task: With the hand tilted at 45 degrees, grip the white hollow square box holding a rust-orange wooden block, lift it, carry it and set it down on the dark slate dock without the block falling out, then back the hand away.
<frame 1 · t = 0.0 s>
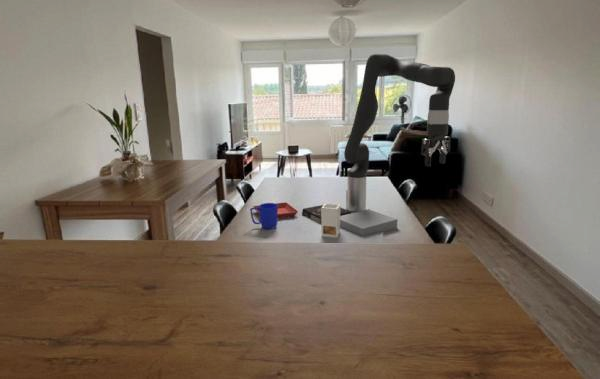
hand: (434, 164, 145), 29 cm above the table, tool pointing down, fingers open, 8 cm apart
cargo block: (331, 234, 154), point 1 cm above the table, touching white hollow square box
dock: (365, 226, 164), on the table
plant saucer: (275, 215, 185), on the table
mug: (264, 227, 166), on the table
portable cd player: (325, 218, 178), on the table
white hollow square box: (331, 236, 154), on the table, touching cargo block
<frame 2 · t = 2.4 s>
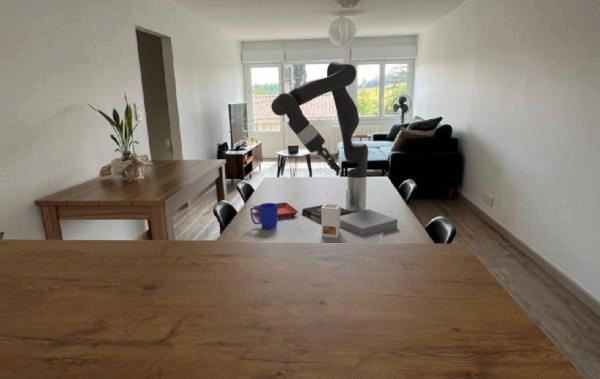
hand: (336, 169, 148), 28 cm above the table, tool tilted 40°, fingers open, 8 cm apart
nothing on the table moved.
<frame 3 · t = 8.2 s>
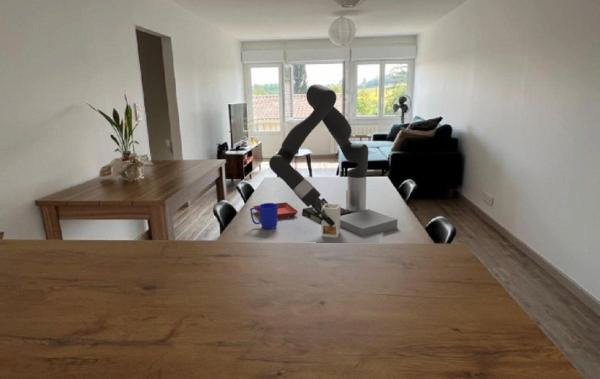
hand: (334, 222, 152), 6 cm above the table, tool tilted 45°, fingers closed on white hollow square box, 6 cm apart
white hollow square box: (331, 236, 154), on the table, touching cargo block, gripper
everything else where it was.
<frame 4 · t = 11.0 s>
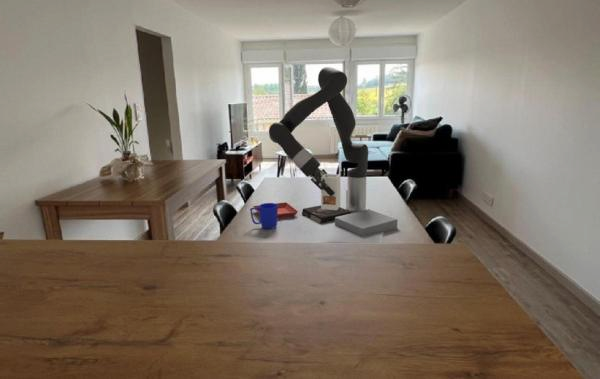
hand: (334, 192, 149), 19 cm above the table, tool tilted 45°, fingers closed on white hollow square box, 6 cm apart
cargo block: (330, 204, 151), point 13 cm above the table, touching white hollow square box
white hollow square box: (330, 207, 151), point 12 cm above the table, touching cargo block, gripper
everything else where it was.
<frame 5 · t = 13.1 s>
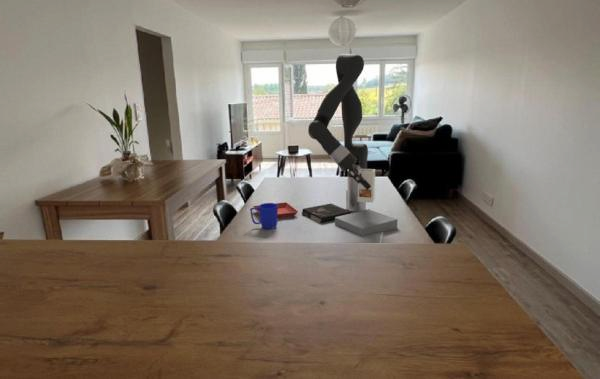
hand: (370, 186, 159), 18 cm above the table, tool tilted 45°, fingers closed on white hollow square box, 6 cm apart
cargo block: (366, 197, 160), point 13 cm above the table, touching white hollow square box
white hollow square box: (366, 200, 161), point 12 cm above the table, touching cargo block, gripper
everything else where it was.
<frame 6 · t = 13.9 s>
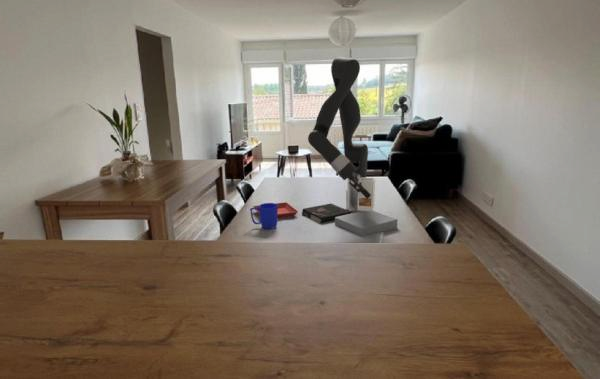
hand: (370, 194, 160), 15 cm above the table, tool tilted 45°, fingers closed on white hollow square box, 6 cm apart
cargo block: (365, 206, 161), point 9 cm above the table, touching white hollow square box
white hollow square box: (365, 208, 161), point 8 cm above the table, touching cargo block, gripper
everything else where it was.
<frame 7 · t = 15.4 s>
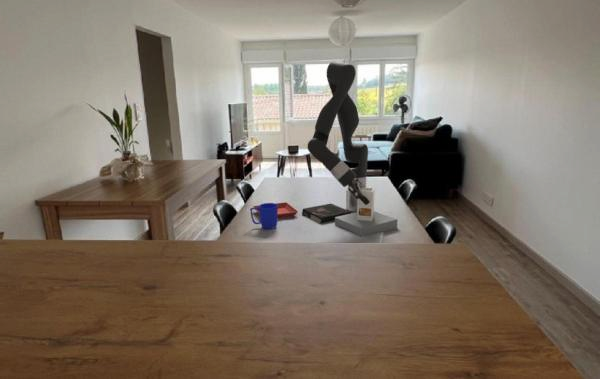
hand: (369, 200, 160), 12 cm above the table, tool tilted 45°, fingers open, 8 cm apart
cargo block: (365, 216, 163), point 5 cm above the table, touching white hollow square box
white hollow square box: (365, 218, 163), point 4 cm above the table, touching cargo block, dock
everything else where it was.
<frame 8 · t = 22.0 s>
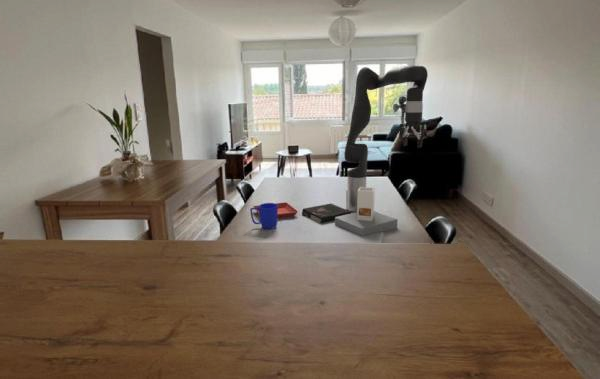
hand: (412, 146, 176), 32 cm above the table, tool pointing down, fingers open, 8 cm apart
nothing on the table moved.
at the end: white hollow square box inside the target area on the dock (0.2 cm from its centre), point 4.0 cm above the dock's base; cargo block 0.0 cm off-centre on the white hollow square box, point 1.0 cm above the white hollow square box's base; white hollow square box tilted 0° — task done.
